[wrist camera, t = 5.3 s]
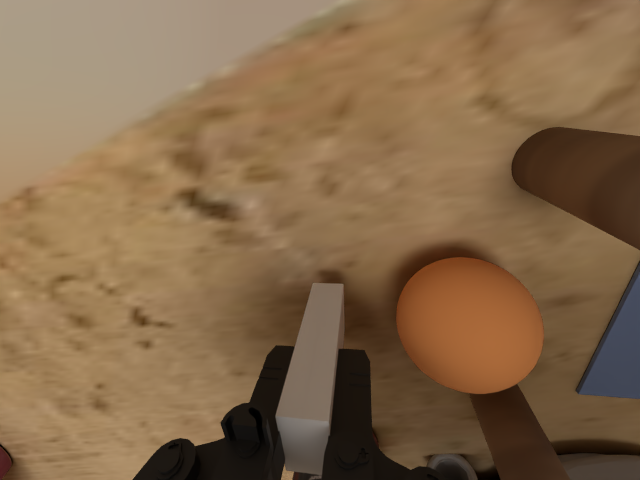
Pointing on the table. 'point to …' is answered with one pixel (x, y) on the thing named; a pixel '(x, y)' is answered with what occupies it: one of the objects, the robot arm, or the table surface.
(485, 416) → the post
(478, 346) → the orange egg
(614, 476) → the turbocharger housing
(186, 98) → the table surface
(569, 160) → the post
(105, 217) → the table surface
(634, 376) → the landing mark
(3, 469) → the plant pot
